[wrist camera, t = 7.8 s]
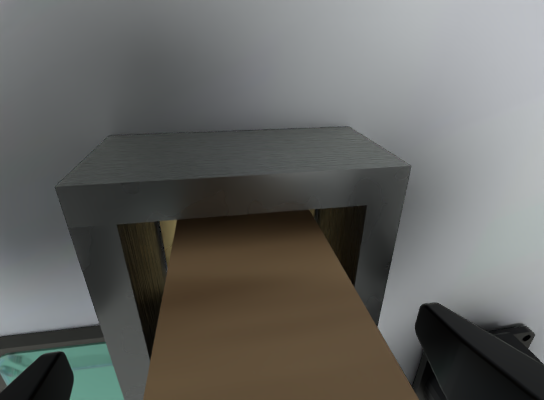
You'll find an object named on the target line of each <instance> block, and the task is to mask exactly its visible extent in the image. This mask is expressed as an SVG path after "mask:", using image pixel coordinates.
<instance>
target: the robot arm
mask: <svg viewBox="0 0 544 400" xmlns="http://www.w3.org/2000/svg"><path fill="white" fill-rule="evenodd" d="M415 331H416V335H417V337H418V339H419V341H420V343H421V346H422V348H423V350H424V352H423V356H422V359H421V362H420V365H419V368H418V371H417V375H416V378H415V381H414V384H413V387H412V388H413V390H414V392H415V393H416V395H417V397H418V399H419V400H544V364H543V363H542V362H541V361H540V360H539V359H538V358H537V357H536V356H535V355H534V354H533V353H532V352H531V351H530V350H529V349H528V348H529V346H530V344H531V342H532V340H533V338H534V336H535V334H534V332H533V331H532V330H530V329H529V328H528V327H527V326H522V327H515V328H509V329H502V330H495V331H489V332H487V331H485V330H483V329H482V328H480V327H478V326H476V325H475V324H473V323H471V322H470V321H468V320H466V319H464V318H463V317H461V316H459V315H458V314H456V313H454V312H453V311H451V310H449V309H447V308H446V307H444V306H442V305H441V304H439V303H435V302H434V303H426V304H422V305H421V306H420V309H419V312H418V316H417V319H416V323H415ZM73 384H74V374H73V371H72V369H71V366H70V364H69V361H68V359H67V357H66V355H65V353H64V352H62V351H57V352H50V353H44V354H42V355H41V356H39V357H38V358H37V359H36V360H35V361H34V362H33V363H32V364H31V365H29V366H28V367H27V368H26V369H25V370H24V371H23V372H22V373H21V374H20V375H19V376H17V377H16V378H15V379H14V380H13V381H12V382H11V383H10V384H9V385H8V386H7V387H6V388H4V389H3V390H2V391H1V392H0V400H70V397H71V392H72V388H73Z"/></svg>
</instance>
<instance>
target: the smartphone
mask: <svg viewBox="0 0 544 400" xmlns="http://www.w3.org/2000/svg"><path fill="white" fill-rule="evenodd" d="M57 351H62V352H64V353H65V355H66V357H67V359H68V361H69V364H70V366H71V369H72V371H73V374H74V384H73V388H72V392H71V397H70V400H124V398H123V394H122V391H121V388H120V385H119V382H118V379H117V376H116V373H115V370H114V367H113V364H112V361H111V358H110V355H109V352H108V348H107V345H106V342H105V339H104V336H103V333H102V330H101V327H100V325H99V326H90V327H81V328H73V329H64V330H55V331H46V332H38V333H29V334H20V335H12V336H3V337H0V392H1V391H2V390H3V389H4V388H6V387H7V386H8V385H9V384H10V383H11V382H12V381H13V380H14V379H15V378H16V377H17V376H19V375H20V374H21V373H22V372H23V371H24V370H25V369H26V368H27V367H28V366H29V365H31V364H32V363H33V362H34V361H35V360H36V359H37V358H38V357H39V356H41V355H42V354H44V353H50V352H57Z"/></svg>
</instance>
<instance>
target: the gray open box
mask: <svg viewBox="0 0 544 400" xmlns="http://www.w3.org/2000/svg"><path fill="white" fill-rule="evenodd" d="M410 170H411V165H409V164H408V163H406V162H405V161H403V160H401V159H400V158H398V157H397V156H395V155H393V154H392V153H390V152H389V151H387V150H386V149H384V148H382V147H381V146H379V145H378V144H376V143H374V142H373V141H371V140H370V139H368V138H367V137H365V136H363V135H362V134H360V133H359V132H357V131H355V130H354V129H352V128H351V127H325V128H298V129H271V130H245V131H218V132H191V133H164V134H137V135H111V136H108V137H107V138H106V139H105V140H104V141H103V142H102V143H101V144H100V145H99V146H98V147H96V148H95V149H94V150H93V151H92V152H91V153H90V154H89V155H88V156H87V157H86V158H85V159H84V160H83V161H82V162H81V163H79V164H78V165H77V166H76V167H75V168H74V169H73V170H72V171H71V172H70V173H69V174H68V175H67V176H66V177H65V178H64V179H63V180H61V181H60V182H59V183H58V184H57V185H56V186H55V189H56V192H57V195H58V198H59V201H60V204H61V207H62V210H63V213H64V217H65V220H66V223H67V226H68V229H69V232H70V235H71V238H72V241H73V244H74V247H75V250H76V253H77V256H78V259H79V263H80V266H81V269H82V272H83V275H84V278H85V281H86V284H87V287H88V290H89V293H90V296H91V299H92V302H93V306H94V309H95V312H96V315H97V318H98V321H99V324H100V327H101V330H102V333H103V336H104V339H105V342H106V345H107V348H108V352H109V355H110V358H111V361H112V364H113V367H114V370H115V373H116V376H117V379H118V382H119V385H120V388H121V391H122V394H123V398H124V400H143V397H144V392H145V387H146V381H147V376H148V371H149V365H150V360H151V355H152V350H153V344H154V339H155V334H156V328H157V323H158V318H159V313H160V307H161V302H162V297H163V291H164V286H165V281H166V276H167V270H166V265H165V259H164V253H163V248H162V242H161V237H160V231H159V225H158V221H159V222H160V228H161V233H162V239H163V245H164V250H165V256H166V262H167V268H168V265H169V260H170V254H171V249H172V244H173V239H174V233H175V228H176V223H177V220H181V219H194V218H207V217H220V216H233V215H246V214H259V213H272V212H285V211H298V210H310V212H311V213H312V215H313V217H314V218H315V220H316V222H317V224H318V225H319V227H320V229H321V231H322V232H323V234H324V236H325V238H326V239H327V241H328V243H329V244H330V246H331V248H332V250H333V251H334V253H335V255H336V257H337V258H338V260H339V262H340V264H341V265H342V267H343V269H344V270H345V272H346V274H347V276H348V277H349V279H350V281H351V283H352V284H353V286H354V288H355V290H356V291H357V293H358V295H359V296H360V298H361V300H362V302H363V303H364V305H365V307H366V309H367V310H368V312H369V314H370V316H371V317H372V319H373V321H374V322H375V324H376V326H378V321H379V317H380V312H381V307H382V302H383V298H384V293H385V288H386V283H387V279H388V274H389V269H390V265H391V260H392V255H393V250H394V246H395V241H396V236H397V231H398V227H399V222H400V217H401V213H402V208H403V203H404V198H405V194H406V189H407V184H408V180H409V175H410ZM315 209H316V215H315Z"/></svg>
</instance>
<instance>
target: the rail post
mask: <svg viewBox="0 0 544 400" xmlns="http://www.w3.org/2000/svg"><path fill="white" fill-rule="evenodd" d="M143 400H419V399H418V397H417V395H416V393H415V392H414V390H413V388H412V387H411V385H410V383H409V381H408V380H407V378H406V376H405V374H404V373H403V371H402V369H401V367H400V366H399V364H398V362H397V361H396V359H395V357H394V355H393V354H392V352H391V350H390V348H389V347H388V345H387V343H386V342H385V340H384V338H383V336H382V335H381V333H380V331H379V329H378V328H377V326H376V324H375V322H374V321H373V319H372V317H371V316H370V314H369V312H368V310H367V309H366V307H365V305H364V303H363V302H362V300H361V298H360V296H359V295H358V293H357V291H356V290H355V288H354V286H353V284H352V283H351V281H350V279H349V277H348V276H347V274H346V272H345V270H344V269H343V267H342V265H341V264H340V262H339V260H338V258H337V257H336V255H335V253H334V251H333V250H332V248H331V246H330V244H329V243H328V241H327V239H326V238H325V236H324V234H323V232H322V231H321V229H320V227H319V225H318V224H317V222H316V220H315V219H314V217H313V215H312V213H311V212H310V210H298V211H285V212H272V213H259V214H246V215H233V216H220V217H207V218H194V219H181V220H177V223H176V228H175V233H174V239H173V244H172V249H171V254H170V260H169V265H168V270H167V276H166V281H165V286H164V291H163V297H162V302H161V307H160V313H159V318H158V323H157V328H156V334H155V339H154V344H153V350H152V355H151V360H150V365H149V371H148V376H147V381H146V387H145V392H144V397H143Z"/></svg>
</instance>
